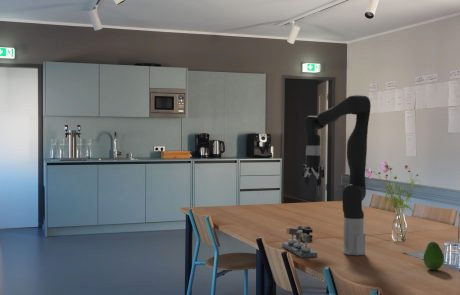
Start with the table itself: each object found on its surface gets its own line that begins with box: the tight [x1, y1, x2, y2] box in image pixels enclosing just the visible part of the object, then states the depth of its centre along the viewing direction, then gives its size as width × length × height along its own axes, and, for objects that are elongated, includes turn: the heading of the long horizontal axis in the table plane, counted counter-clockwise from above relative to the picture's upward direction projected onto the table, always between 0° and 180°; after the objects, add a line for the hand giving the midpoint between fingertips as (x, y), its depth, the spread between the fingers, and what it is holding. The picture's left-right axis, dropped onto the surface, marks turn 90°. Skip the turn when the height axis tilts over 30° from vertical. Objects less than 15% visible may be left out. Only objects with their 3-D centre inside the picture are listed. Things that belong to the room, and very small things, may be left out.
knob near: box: [301, 234, 312, 251], centre depth 260 cm, size 6×4×8 cm
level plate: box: [281, 241, 318, 259], centre depth 268 cm, size 26×8×3 cm, turn 14°
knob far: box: [286, 227, 299, 244], centre depth 277 cm, size 6×4×8 cm
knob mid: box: [294, 230, 305, 248], centre depth 268 cm, size 6×4×8 cm
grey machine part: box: [296, 225, 314, 242], centre depth 300 cm, size 10×7×7 cm
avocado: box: [423, 241, 445, 271], centre depth 233 cm, size 8×8×12 cm
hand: (312, 185), depth 289 cm, fingers open, 8 cm apart
